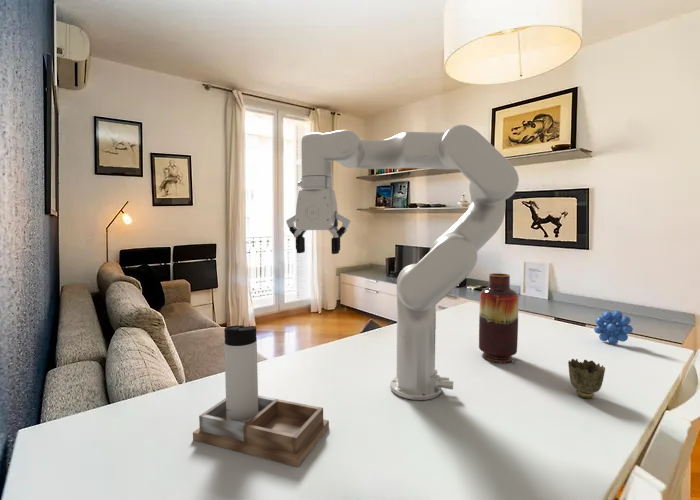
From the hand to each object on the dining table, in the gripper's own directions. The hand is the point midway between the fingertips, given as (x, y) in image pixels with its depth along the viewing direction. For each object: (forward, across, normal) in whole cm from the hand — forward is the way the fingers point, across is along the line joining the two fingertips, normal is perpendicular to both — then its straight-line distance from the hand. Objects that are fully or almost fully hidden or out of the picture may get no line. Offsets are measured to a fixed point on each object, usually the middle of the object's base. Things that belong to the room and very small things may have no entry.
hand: (317, 253), depth 92 cm
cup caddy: (+34, -1, -24) cm, 42 cm away
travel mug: (+33, -6, -24) cm, 41 cm away
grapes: (+34, +82, +64) cm, 110 cm away
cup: (+34, +63, +16) cm, 74 cm away
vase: (+34, +44, +36) cm, 66 cm away
